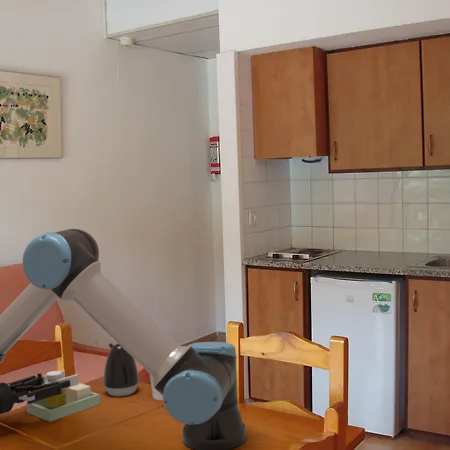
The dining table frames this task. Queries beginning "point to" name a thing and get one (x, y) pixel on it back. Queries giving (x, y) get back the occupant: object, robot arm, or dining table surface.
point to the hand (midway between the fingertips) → (70, 377)
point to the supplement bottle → (57, 399)
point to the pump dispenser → (120, 372)
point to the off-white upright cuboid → (77, 393)
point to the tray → (62, 408)
